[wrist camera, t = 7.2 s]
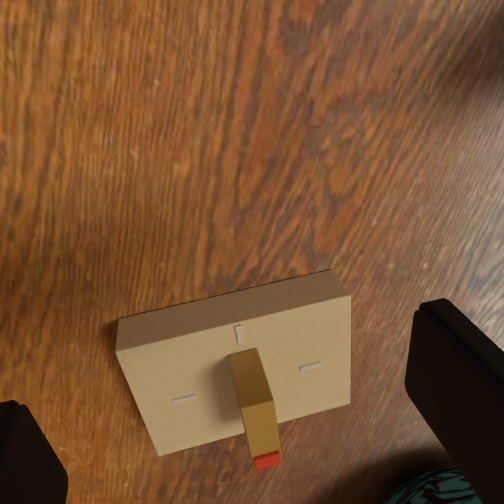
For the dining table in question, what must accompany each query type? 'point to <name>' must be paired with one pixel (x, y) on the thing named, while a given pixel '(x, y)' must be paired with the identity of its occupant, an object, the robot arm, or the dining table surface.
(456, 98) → the dining table surface
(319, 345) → the lock plate
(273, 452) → the lock knob
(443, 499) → the decorative sphere
